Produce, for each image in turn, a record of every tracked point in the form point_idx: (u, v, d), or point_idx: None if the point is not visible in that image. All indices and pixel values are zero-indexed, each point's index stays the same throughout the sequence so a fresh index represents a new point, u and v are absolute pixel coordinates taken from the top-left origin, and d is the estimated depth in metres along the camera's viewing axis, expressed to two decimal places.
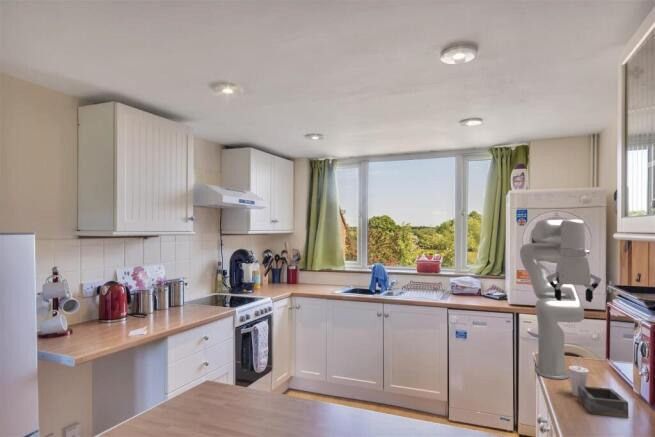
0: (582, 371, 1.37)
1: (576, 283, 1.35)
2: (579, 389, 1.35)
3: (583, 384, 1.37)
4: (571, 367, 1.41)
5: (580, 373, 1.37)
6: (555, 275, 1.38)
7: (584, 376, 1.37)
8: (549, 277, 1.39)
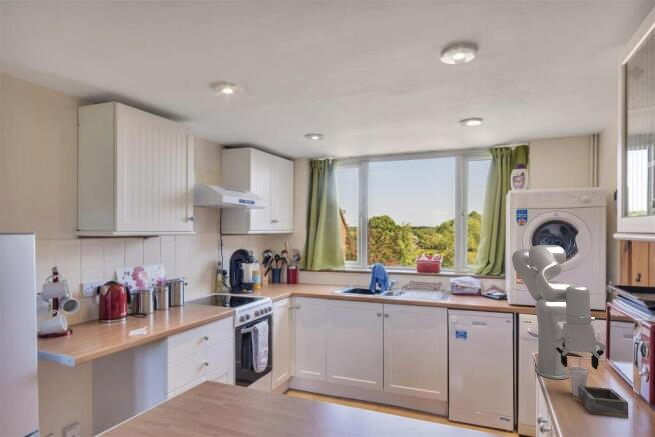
0: (582, 371, 1.37)
1: (582, 350, 1.37)
2: (579, 389, 1.35)
3: (583, 384, 1.37)
4: (571, 367, 1.41)
5: (580, 373, 1.37)
6: (561, 341, 1.40)
7: (584, 376, 1.37)
8: (555, 343, 1.41)
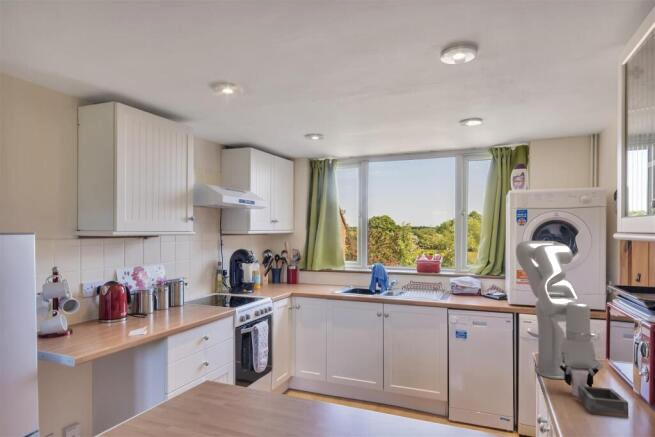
0: (582, 371, 1.37)
1: (581, 366, 1.37)
2: (579, 389, 1.35)
3: (583, 384, 1.37)
4: None
5: (580, 373, 1.37)
6: (562, 359, 1.40)
7: (584, 376, 1.37)
8: (557, 362, 1.41)
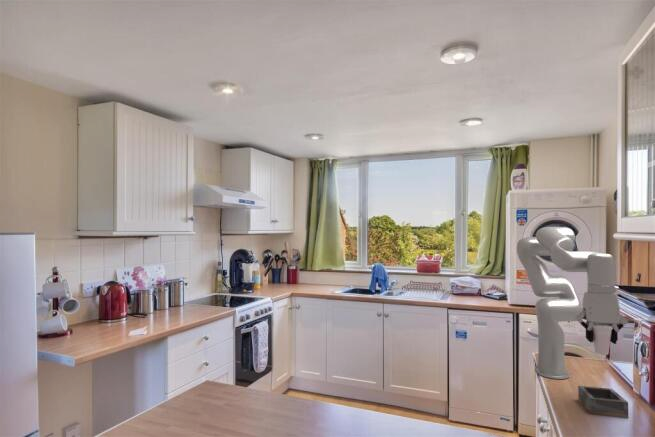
0: (606, 326, 1.27)
1: (605, 321, 1.28)
2: (579, 389, 1.35)
3: (607, 340, 1.27)
4: None
5: (603, 328, 1.27)
6: (583, 314, 1.31)
7: (608, 331, 1.27)
8: (578, 318, 1.31)
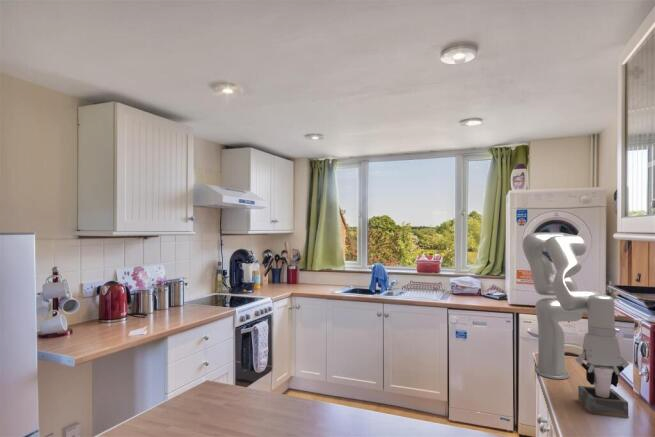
0: (606, 369, 1.27)
1: (605, 364, 1.27)
2: (579, 389, 1.35)
3: (607, 383, 1.27)
4: None
5: (604, 371, 1.27)
6: (584, 356, 1.30)
7: (609, 374, 1.27)
8: (579, 359, 1.31)
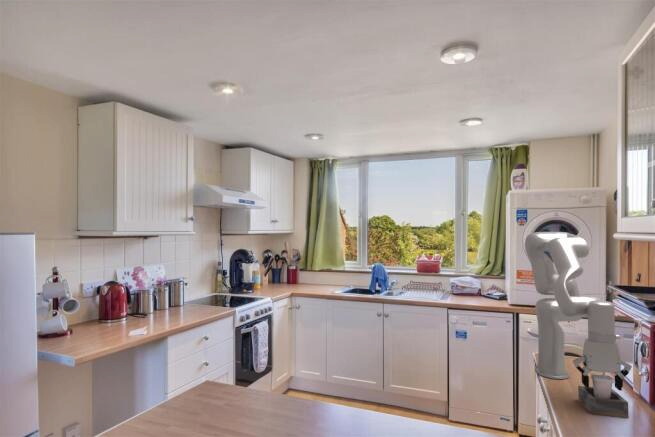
0: (607, 380, 1.27)
1: (605, 370, 1.27)
2: (579, 389, 1.35)
3: (607, 394, 1.27)
4: (594, 375, 1.31)
5: (604, 382, 1.27)
6: (582, 360, 1.30)
7: (609, 385, 1.27)
8: (576, 361, 1.31)
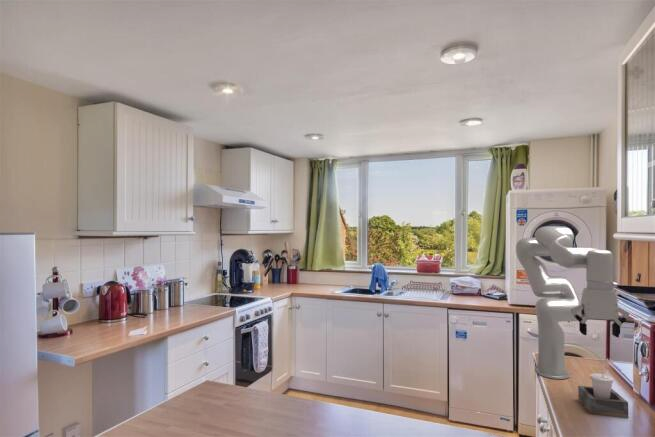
0: (606, 379, 1.27)
1: (603, 317, 1.29)
2: (579, 389, 1.35)
3: (607, 393, 1.27)
4: (593, 375, 1.31)
5: (604, 381, 1.27)
6: (580, 308, 1.32)
7: (608, 385, 1.27)
8: (574, 310, 1.32)
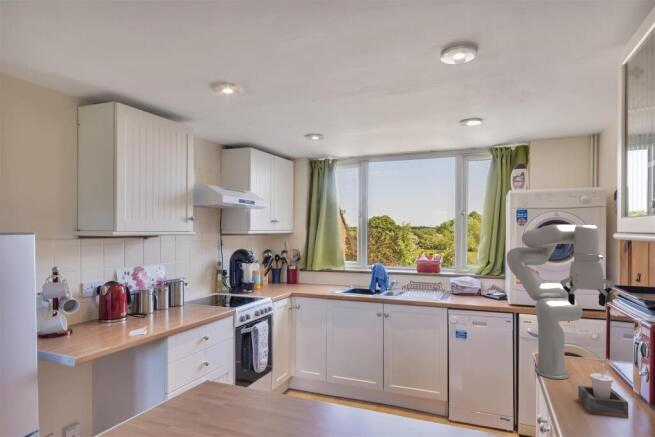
0: (606, 379, 1.27)
1: (590, 288, 1.37)
2: (579, 389, 1.35)
3: (607, 393, 1.27)
4: (593, 375, 1.31)
5: (604, 382, 1.27)
6: (569, 280, 1.40)
7: (608, 385, 1.27)
8: (563, 282, 1.41)
